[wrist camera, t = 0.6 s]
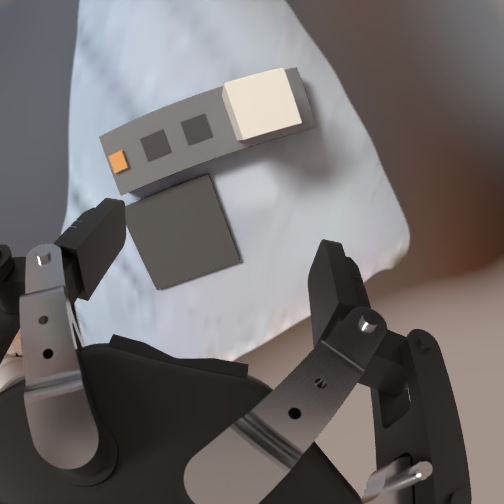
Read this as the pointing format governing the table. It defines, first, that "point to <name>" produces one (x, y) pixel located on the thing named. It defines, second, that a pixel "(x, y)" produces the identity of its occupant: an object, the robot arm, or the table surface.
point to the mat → (181, 232)
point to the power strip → (186, 137)
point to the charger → (260, 103)
